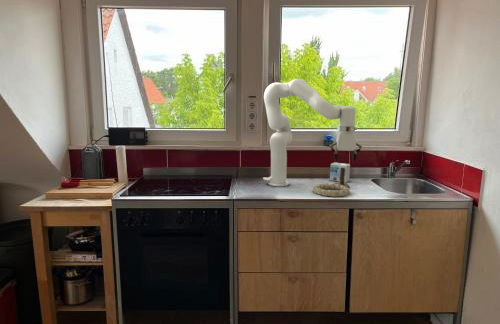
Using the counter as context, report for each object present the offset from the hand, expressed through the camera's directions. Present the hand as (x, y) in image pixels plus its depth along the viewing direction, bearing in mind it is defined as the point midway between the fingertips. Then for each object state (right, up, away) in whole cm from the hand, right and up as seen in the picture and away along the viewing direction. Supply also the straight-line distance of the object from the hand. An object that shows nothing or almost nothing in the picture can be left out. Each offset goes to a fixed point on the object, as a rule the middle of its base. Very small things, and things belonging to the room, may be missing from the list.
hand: (344, 160), depth 188 cm
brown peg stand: (+3, -15, +15) cm, 22 cm away
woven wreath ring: (-7, -16, +1) cm, 17 cm away
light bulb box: (+5, -13, +30) cm, 33 cm away
